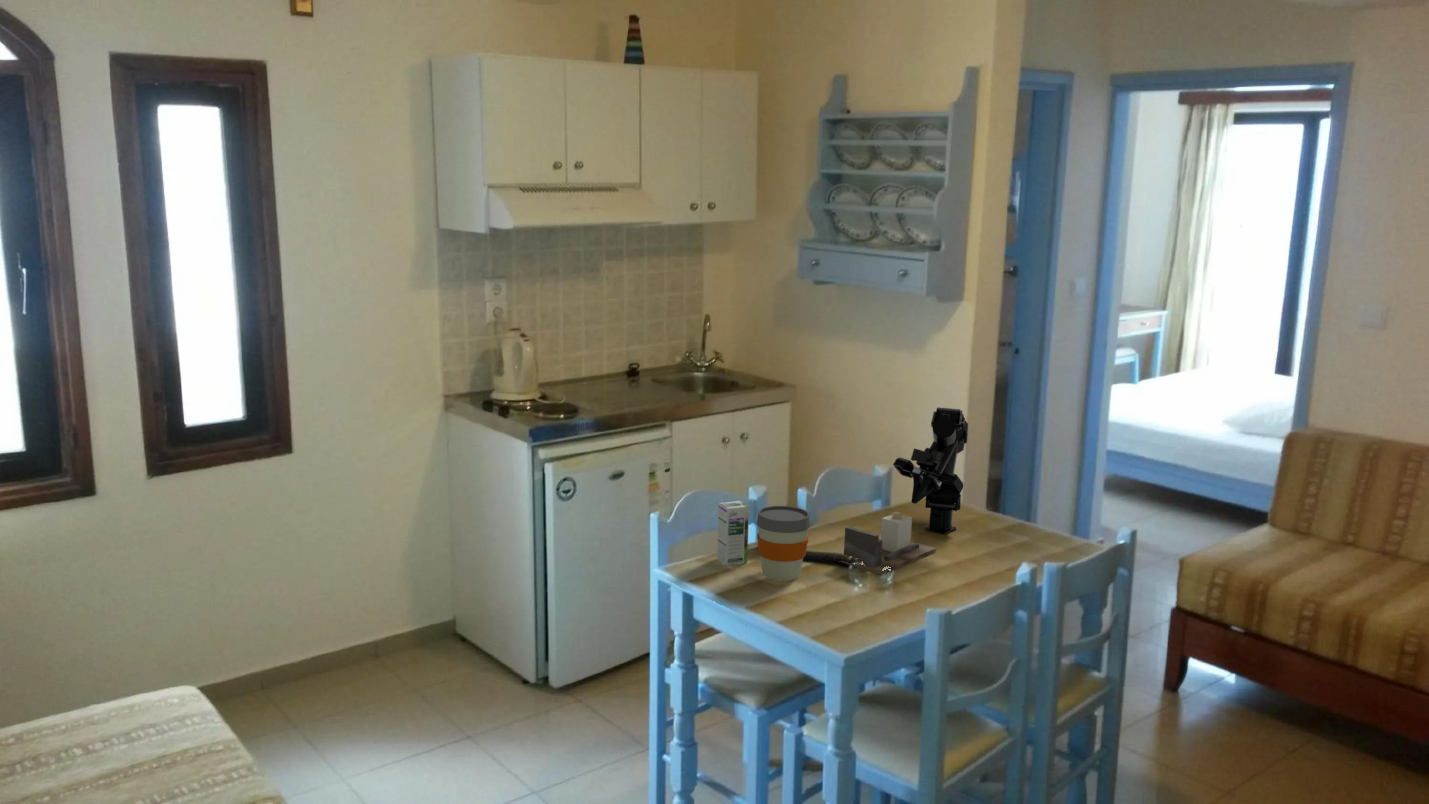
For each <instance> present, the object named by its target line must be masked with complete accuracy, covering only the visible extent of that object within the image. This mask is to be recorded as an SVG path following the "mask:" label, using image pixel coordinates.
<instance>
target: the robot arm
mask: <svg viewBox="0 0 1429 804" xmlns="http://www.w3.org/2000/svg"><path fill="white" fill-rule="evenodd" d="M932 414H933V415H932V419H931V422H930V426H931V428H932V436H933V441H932V443H931V445H930V447H926V448H925V449H924V450H922V449H918V448H913V451H912V454H911V457H910V459H907V458H904V457H898V458H896V459H895V460H894V462H893V464H892V466H893V467H894V468H895V469H896V470H897V472H898V473H899V474H900V475H901V476H903V477H906V478H909V479H912V480H913V487H912V494H911V503H912V504H914V505H916V504H917V503H918V502H920V501H921V500H923V499H925V509H930V512H929V520H928V522H929V524H928V525H925V526H924V528H923V529H924V530H928V531H931V532H936V533H938V534H942V535H946V534H948V533H951V532H954V531H956V530H957V527H956V526H953V525H952V523H953V511H954V512H957V511H960V510H961V502H962V494H961V493H962V491H963V489H964V483H963V481H962V480H961V478H960V477H959V476H958V474H956V473H955V470H956V463H957V458H958V457H957V456H958V454H959V453H961V452H963V451H964V448H965V444H966V445H967V443H968V440H969V439H968V438H969V436H968V435H969V423H968V422H967V420H966V417H965V415H964V413H963V410H961V409H959V408H949V407H940V406H939V407H937V408H936V411H934V410H933V413H932ZM912 461H913V462H915V464H916V465H917V466H915V465H914V463H913V462H912ZM918 466H919V467H918Z"/></svg>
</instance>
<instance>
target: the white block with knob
mask: <svg viewBox="0 0 1429 804" xmlns="http://www.w3.org/2000/svg"><path fill="white" fill-rule="evenodd" d="M912 522H913V517H911V516H907V515H904V514H903V513H902V512H900V511H894V512H893V511H892V513H891V514H890V515H887V516H884V517H882V518H881V524H880V525H881V527H880V529H881V530H880V539H881V540H883V541H882V549H883V550H887V551H890V552H896V551H898V550H901V549H903V548H905V547H908V546H910V541H912V540H911V539H912Z"/></svg>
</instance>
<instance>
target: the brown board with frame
mask: <svg viewBox="0 0 1429 804" xmlns="http://www.w3.org/2000/svg"><path fill="white" fill-rule="evenodd" d="M879 537H880V535H879V534H877V533H874V532H870V531H867V530H863V529H859V528H856V527H854V526H846V527H845V528H844V544H843V545H844V546H843V552H842V553H841V554H842V555H847V556H852V557H856V558H859V559H860V560H862V561H863V563H864V564H865V566H864V565H861V564H860V565H856V564H855V565H854V564H852V563H848V562H844V561H838V562H839V563H843V564H845V565H849V566H851V567H855V568H858V569H861V570H865V571H868V572H871V573H874V574H877V575H881V576H884V575H886V574H888V573H890V572H893V571H894V570H897V569H900V568H901V567H904V566H906V565H909V564H911V563H913V562H916V561H918V560H920V559H922V558H925V557H927V556H929V555H931V554H934V553H936V551H937V548H936V547H933V546H929V545H926V544H923V543H918V542H915V541H912V540H911V541H910V546H908V547H905V548H903V549H901V550H898V551H896V552H890V551H887V550H883V549H882V541H883V540H881V538H879ZM834 561H836V560H835V559H834ZM836 562H837V561H836ZM886 566H887V567H888V566H889V567H891V568H888V569H891V571H889V570H888V569H886V570H884V571H882V569H883V568H884V567H886Z"/></svg>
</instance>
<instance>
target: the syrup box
mask: <svg viewBox="0 0 1429 804" xmlns="http://www.w3.org/2000/svg"><path fill="white" fill-rule="evenodd" d="M748 539H749V505H747V504H746V503H745V502H743V501H741V500H736V501H727V502H718V503H717V545H716V546H717V547H716V548H717V549H716V553H717V554H716V558H717V559H718V560H719V562H721V563H722V564H723V565H724V566H727V567H728V566H731V565H742V564H747V563H748V545H749V544H748V543H749V540H748Z"/></svg>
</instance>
